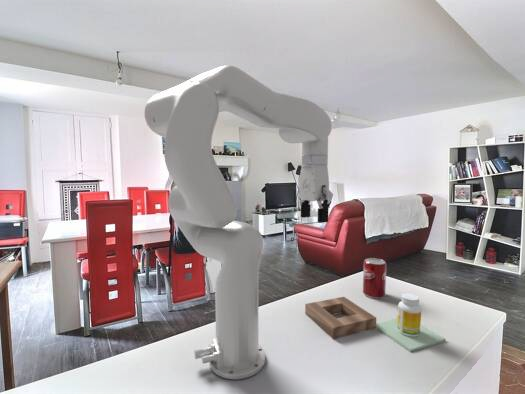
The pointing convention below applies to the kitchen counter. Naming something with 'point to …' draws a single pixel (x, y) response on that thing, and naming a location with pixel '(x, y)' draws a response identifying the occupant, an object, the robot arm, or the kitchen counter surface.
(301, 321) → the kitchen counter surface
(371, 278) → the soda can
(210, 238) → the robot arm
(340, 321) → the block
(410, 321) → the supplement bottle
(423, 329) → the place mat
